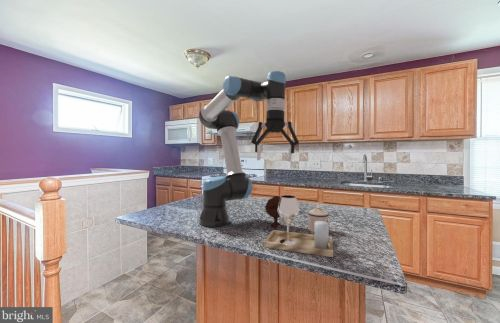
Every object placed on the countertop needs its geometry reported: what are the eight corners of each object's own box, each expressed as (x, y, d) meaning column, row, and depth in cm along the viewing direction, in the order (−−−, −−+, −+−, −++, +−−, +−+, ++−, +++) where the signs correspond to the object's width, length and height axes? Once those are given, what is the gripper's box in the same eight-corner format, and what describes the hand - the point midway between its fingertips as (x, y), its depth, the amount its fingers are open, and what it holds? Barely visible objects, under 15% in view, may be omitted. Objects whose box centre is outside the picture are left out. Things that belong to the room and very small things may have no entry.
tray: (264, 250, 82) (264, 242, 82) (272, 236, 96) (272, 229, 96) (333, 260, 75) (333, 251, 75) (332, 244, 88) (332, 237, 88)
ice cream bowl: (290, 225, 111) (291, 195, 111) (277, 230, 103) (278, 198, 103) (273, 220, 119) (274, 192, 118) (260, 225, 111) (260, 195, 110)
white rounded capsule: (313, 248, 81) (314, 224, 81) (314, 243, 86) (314, 220, 85) (328, 250, 79) (328, 225, 79) (328, 245, 84) (328, 221, 84)
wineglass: (298, 247, 82) (299, 199, 81) (276, 245, 83) (276, 198, 83) (298, 239, 90) (299, 195, 89) (278, 237, 91) (278, 194, 91)
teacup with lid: (330, 236, 97) (330, 209, 97) (308, 234, 98) (309, 208, 98) (325, 227, 109) (325, 203, 108) (306, 226, 110) (306, 202, 110)
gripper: (244, 109, 94) (243, 159, 95) (305, 107, 86) (302, 162, 87) (250, 112, 101) (249, 159, 103) (306, 110, 93) (304, 161, 94)
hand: (273, 160), depth 95 cm, fingers open, 13 cm apart
